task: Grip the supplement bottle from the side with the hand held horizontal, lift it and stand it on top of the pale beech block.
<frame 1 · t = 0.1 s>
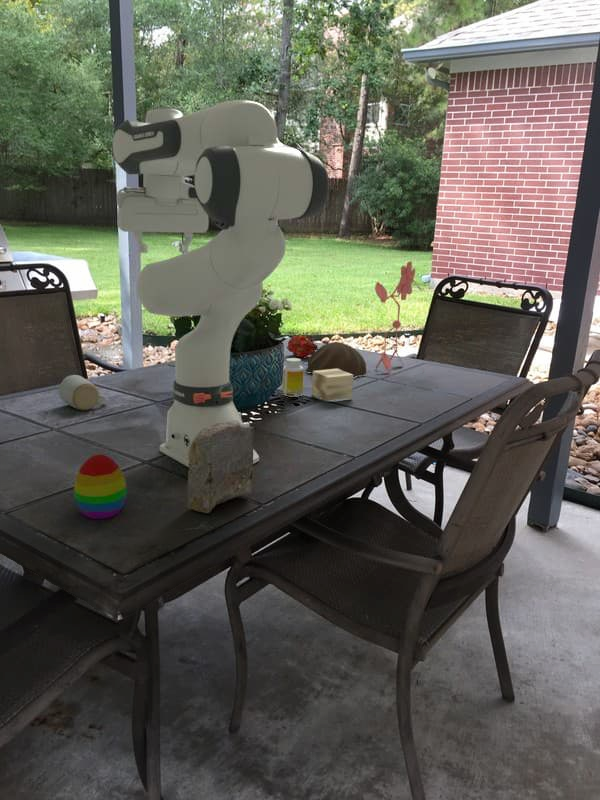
hand: (163, 252, 150), 39 cm above the table, tool pointing down, fingers open, 8 cm apart
geological specimen: (222, 506, 114), on the table
ceramic mug: (85, 407, 166), on the table
beech block: (331, 397, 181), on the table
decorative egg: (101, 513, 109), on the table
decorative dome: (336, 373, 211), on the table, touching figurine
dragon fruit: (302, 357, 231), on the table
figurine: (400, 370, 216), on the table, touching decorative dome
supplement bottle: (292, 396, 182), on the table
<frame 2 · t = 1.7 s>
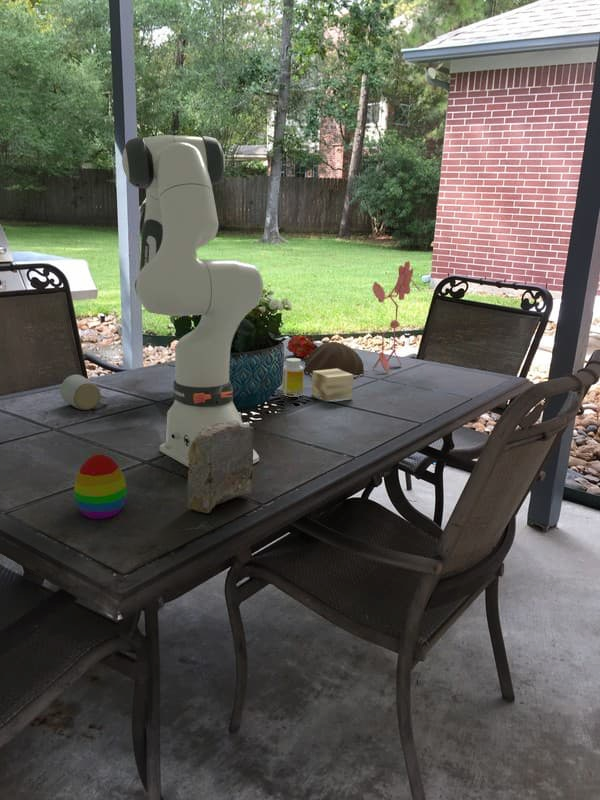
hand: (248, 309, 179), 23 cm above the table, tool horizontal, fingers open, 8 cm apart
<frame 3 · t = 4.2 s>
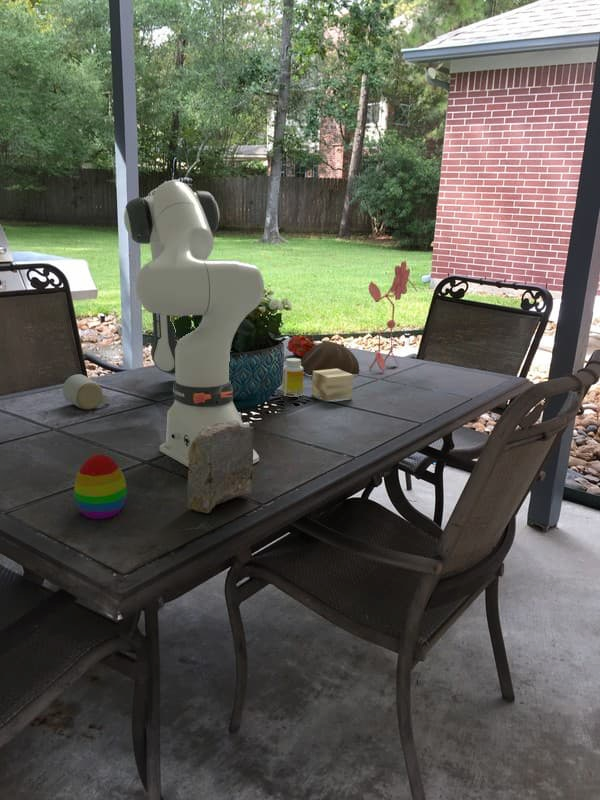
hand: (261, 373, 183), 5 cm above the table, tool horizontal, fingers open, 8 cm apart
decorative dome: (329, 373, 211), on the table, touching figurine
figurine: (394, 370, 216), on the table, touching decorative dome
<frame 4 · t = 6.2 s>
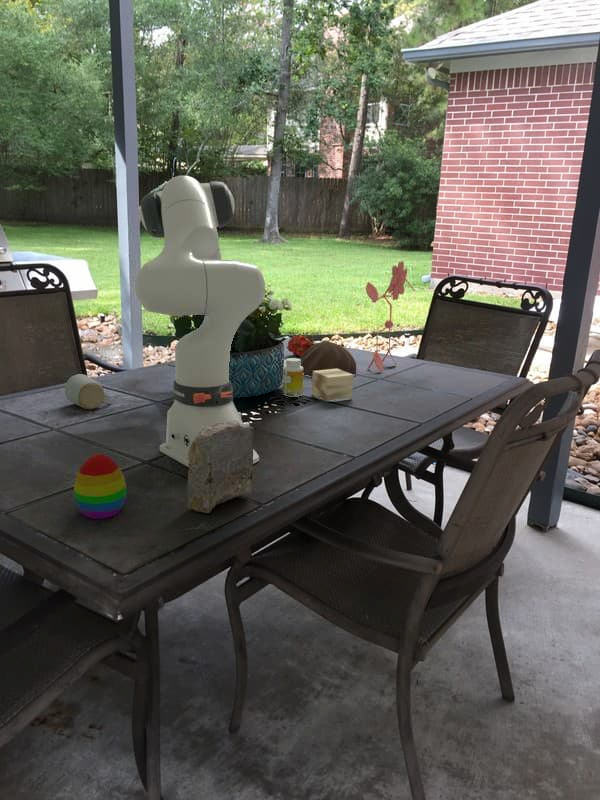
hand: (296, 376, 180), 6 cm above the table, tool horizontal, fingers closed on supplement bottle, 6 cm apart
decorative dome: (326, 373, 211), on the table
figurine: (392, 370, 216), on the table
supplement bottle: (292, 396, 182), on the table, touching gripper
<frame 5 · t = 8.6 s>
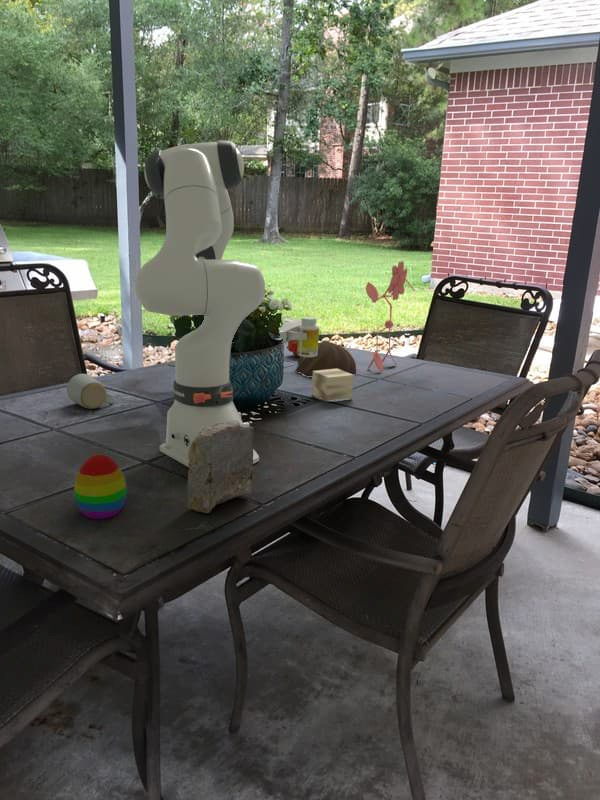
hand: (311, 334, 177), 17 cm above the table, tool horizontal, fingers closed on supplement bottle, 5 cm apart
supplement bottle: (307, 356, 179), point 11 cm above the table, touching gripper
when the fingers open (13 cm above the table, at t = 10.5 s): supplement bottle stays where it is, resting on beech block.
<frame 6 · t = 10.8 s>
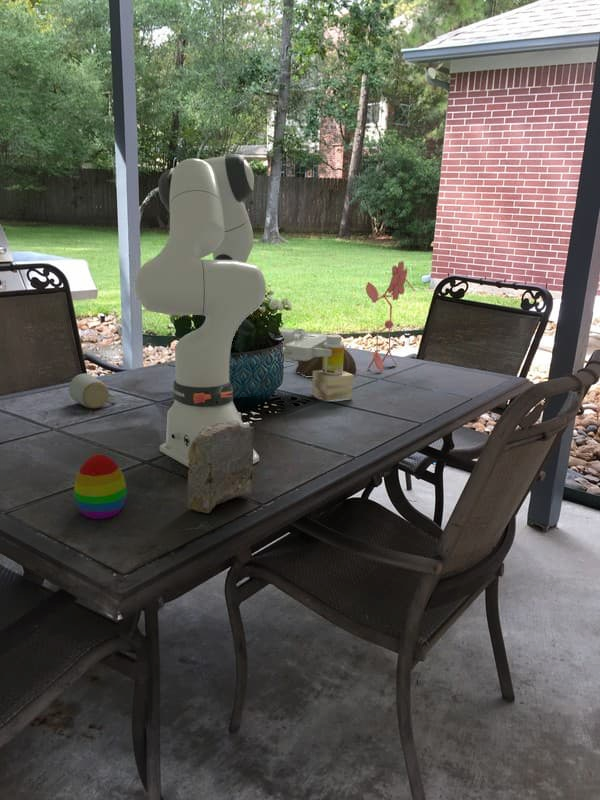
hand: (337, 349, 177), 13 cm above the table, tool horizontal, fingers open, 8 cm apart
supplement bottle: (332, 373, 179), point 7 cm above the table, touching beech block
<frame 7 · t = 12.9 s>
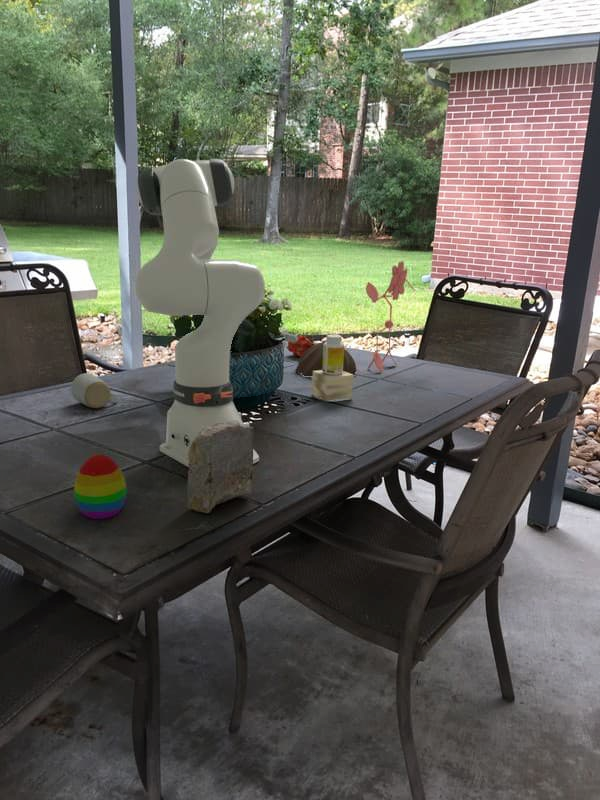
hand: (290, 341, 181), 14 cm above the table, tool horizontal, fingers open, 8 cm apart
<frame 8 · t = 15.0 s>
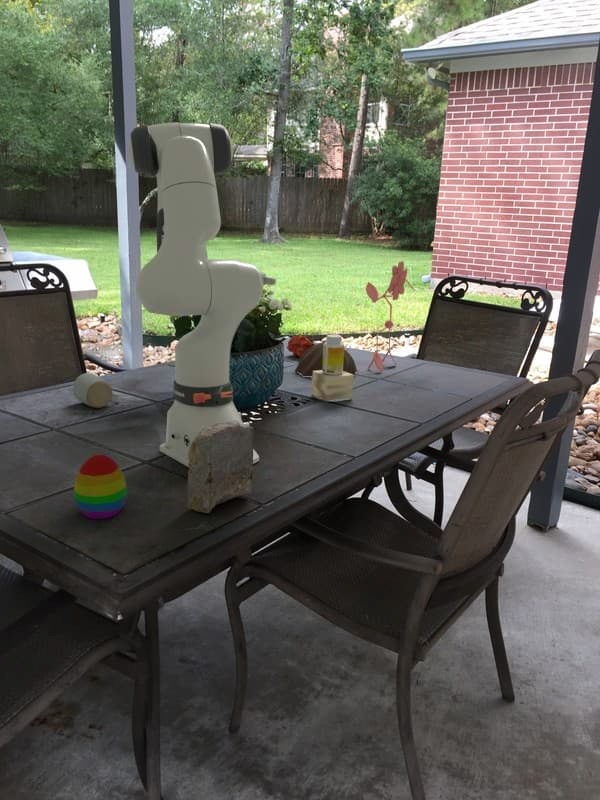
hand: (268, 283, 178), 30 cm above the table, tool horizontal, fingers open, 8 cm apart
at the end: supplement bottle inside the target area on the beech block (0.4 cm from its centre), point 6.8 cm above the beech block's base; supplement bottle tilted 0°; the gripper is holding nothing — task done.
